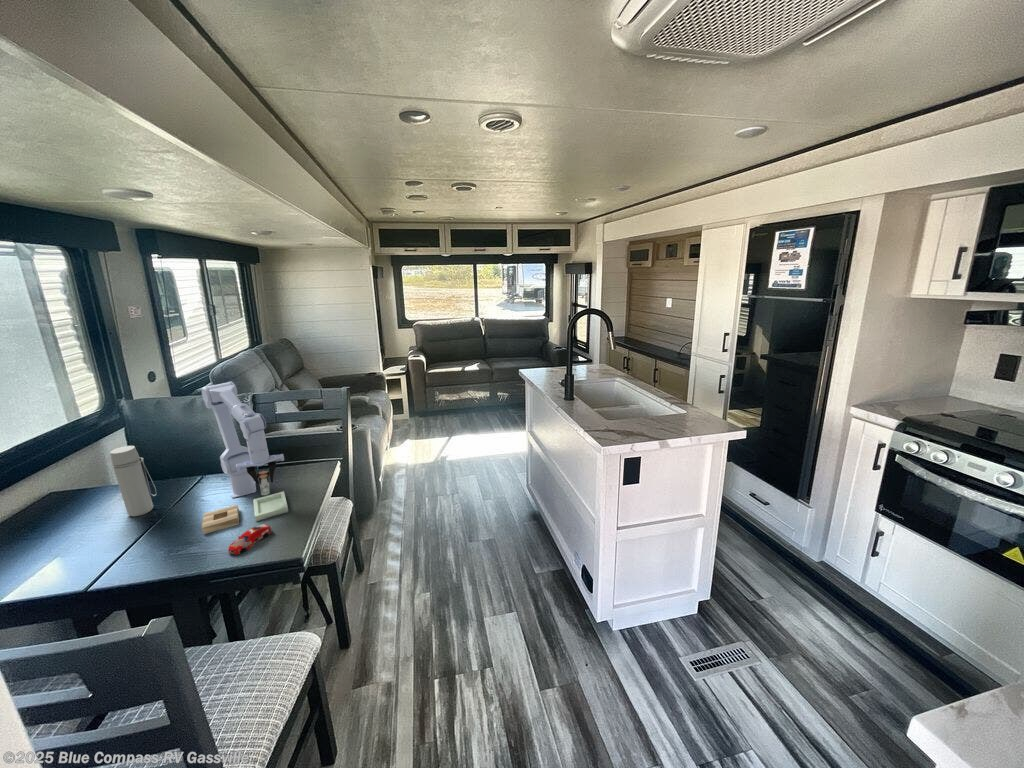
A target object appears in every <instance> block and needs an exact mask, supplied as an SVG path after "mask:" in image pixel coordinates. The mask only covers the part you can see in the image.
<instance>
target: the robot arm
mask: <svg viewBox="0 0 1024 768" xmlns="http://www.w3.org/2000/svg"><path fill="white" fill-rule="evenodd" d="M201 396H202V399H203V403H204V405H205V408H206V409H210V410H212V412H213V414H214V417H215V419H216V423H217V425H218V429H219V432H220V434H221V437H222V440H223V444H224V446H225V450H224V451H223V452H222V454H221V455H220V456H219V460H220V467H221V470H222V472H223V473H224V474H225V475H228V476H229V481H230V486H231V499H235V498H238V497H243V496H246V495H250V494H254V493H256V492H257V487H260V482H259V478H258V477H257V469H256V467H263V466H265V465H267V466H268V471H269V474H270V475H269V480H270V483H274V474H275V471H276V468H277V462H283V461H285V456H284V455H285V454H284V453H281V454H272V455H270V453H269V449H268V444H267V440H266V439H267V438H266V434H265V430H266V428H267V422H266V419H265V417H264V415H262V414H261V413H258V412H255V411H254V410H253V409H252V408H251V407H250V406H249V405H248V404H247V403H243V402H242V401H241V400H240V398H239V397H238V388H237V385H236V384H235V383H234V382H233V381H227V382H223V383H218V384H213V385H209V386H208V385H207V386H203V387H202V389H201ZM230 410H231V412H230ZM232 417H233V418H234V419H235V420H236V422H238V423H239V427H240V430H241V432H242V436H243V437H244V439H245V441H246V446H243V445H241V442H240V439H239V437H238V433H237V430H236V427H235V424H234V422H233V421H234V420H233V418H232Z"/></svg>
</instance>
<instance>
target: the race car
mask: <svg viewBox="0 0 1024 768" xmlns="http://www.w3.org/2000/svg"><path fill="white" fill-rule="evenodd" d="M272 533H273V530H272V528H271V526H270V525H269V524H265V523H263V524H259V525H256V526H254V527H252V528H249V529H248V530H246V531H245V532H242V534H241V535H240V536H239V535H238V538H237V539H236V540H235V541H233V542H232V543H231V544H230V545H229V546H228V548H227V549H228V553H229V555H231V556H237V555H243V554H244V553H245V552H247V551H248V550H249V549H251V548H252V547H254V546H255V545H257V544H258V543H260V542H261V541H263V540H265V539H267V538H268V537H269V536H270V535H271V534H272Z"/></svg>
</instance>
